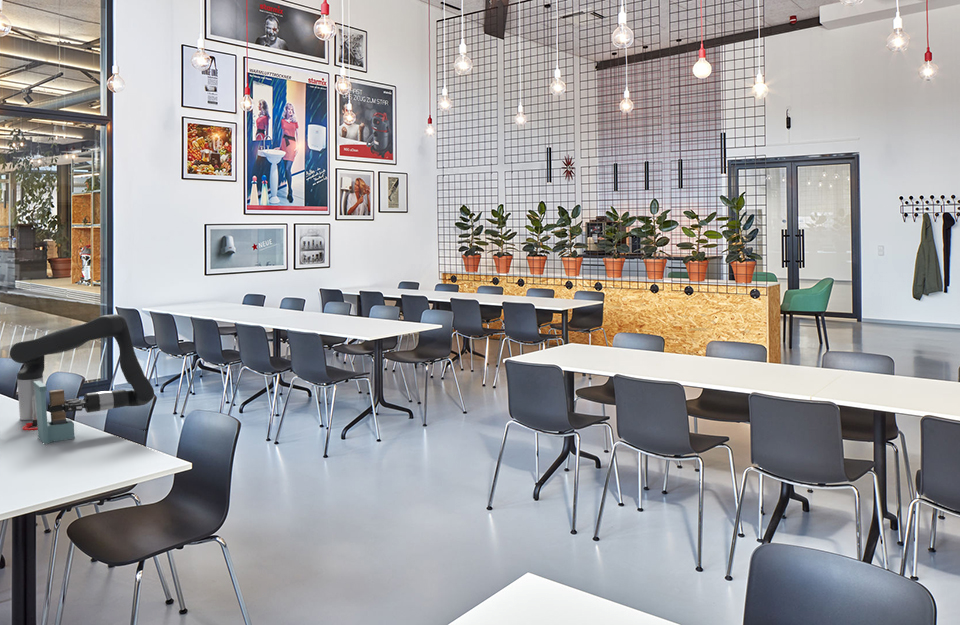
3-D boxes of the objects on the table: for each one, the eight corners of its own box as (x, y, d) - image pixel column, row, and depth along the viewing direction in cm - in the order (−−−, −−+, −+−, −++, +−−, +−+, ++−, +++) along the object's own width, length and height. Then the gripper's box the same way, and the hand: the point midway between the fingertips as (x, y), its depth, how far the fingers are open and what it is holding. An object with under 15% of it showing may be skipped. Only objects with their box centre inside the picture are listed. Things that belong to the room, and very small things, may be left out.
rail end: (52, 431, 275) (48, 390, 274) (65, 429, 278) (62, 389, 276) (53, 433, 273) (50, 392, 271) (67, 431, 275) (63, 390, 274)
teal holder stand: (36, 437, 277) (33, 381, 274) (68, 432, 284) (65, 377, 281) (43, 444, 266) (39, 386, 264) (76, 439, 273) (72, 383, 271)
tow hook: (46, 430, 289) (47, 423, 297) (44, 398, 287) (45, 393, 295) (21, 432, 285) (23, 426, 293) (19, 401, 283) (21, 395, 291)
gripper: (94, 389, 288) (44, 395, 277) (102, 394, 278) (51, 401, 267) (95, 407, 289) (46, 414, 278) (104, 414, 278) (53, 421, 267)
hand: (49, 408), depth 272 cm, fingers closed on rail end, 3 cm apart
